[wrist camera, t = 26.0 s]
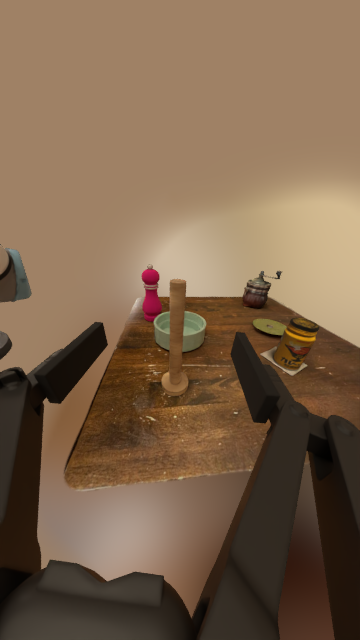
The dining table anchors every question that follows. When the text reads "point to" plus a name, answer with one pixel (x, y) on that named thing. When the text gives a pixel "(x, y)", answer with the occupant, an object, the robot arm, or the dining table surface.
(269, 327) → the olive green flat disc
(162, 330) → the bowl
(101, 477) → the dining table surface
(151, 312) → the pepper mill
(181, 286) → the wooden post with base
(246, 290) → the coffee grinder
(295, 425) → the robot arm
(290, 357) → the condiment
